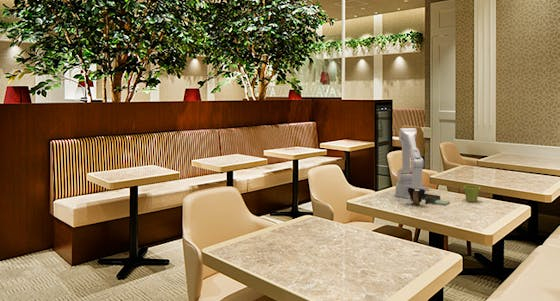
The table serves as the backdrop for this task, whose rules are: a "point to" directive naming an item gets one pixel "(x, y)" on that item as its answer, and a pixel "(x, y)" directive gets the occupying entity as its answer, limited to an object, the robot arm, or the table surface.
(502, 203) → the table surface
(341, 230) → the table surface
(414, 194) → the peg
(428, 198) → the walled course
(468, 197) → the plant pot
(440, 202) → the end pad
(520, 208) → the table surface
